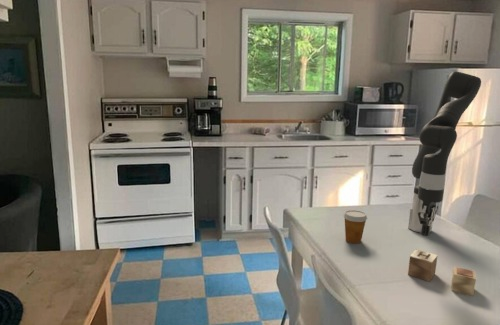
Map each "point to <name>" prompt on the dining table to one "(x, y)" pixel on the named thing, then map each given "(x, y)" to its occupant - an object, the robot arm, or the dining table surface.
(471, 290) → the oak block
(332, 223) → the dining table surface
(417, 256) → the walnut block
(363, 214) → the disposable coffee cup
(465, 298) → the dining table surface
